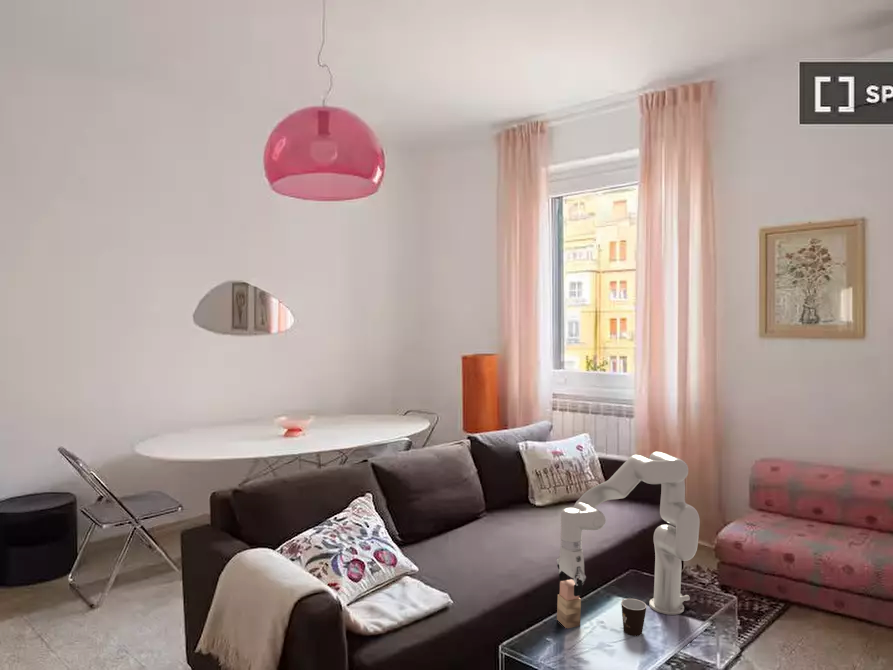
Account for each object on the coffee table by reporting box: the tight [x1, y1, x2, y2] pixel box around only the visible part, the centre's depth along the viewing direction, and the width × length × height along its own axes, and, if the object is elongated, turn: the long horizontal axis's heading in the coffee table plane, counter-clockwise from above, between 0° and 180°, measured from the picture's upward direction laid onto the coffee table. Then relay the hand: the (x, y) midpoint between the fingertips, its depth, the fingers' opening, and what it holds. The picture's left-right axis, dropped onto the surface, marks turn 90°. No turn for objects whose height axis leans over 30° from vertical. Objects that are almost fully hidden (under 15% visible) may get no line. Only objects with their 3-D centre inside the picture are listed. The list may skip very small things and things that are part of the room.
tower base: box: [556, 608, 581, 629], centre depth 242 cm, size 6×6×5 cm
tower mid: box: [556, 593, 582, 615], centre depth 241 cm, size 6×6×5 cm
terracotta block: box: [559, 578, 580, 601], centre depth 241 cm, size 5×5×5 cm
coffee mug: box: [620, 598, 648, 637], centre depth 238 cm, size 12×9×10 cm
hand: (570, 589), depth 241 cm, fingers open, 9 cm apart
